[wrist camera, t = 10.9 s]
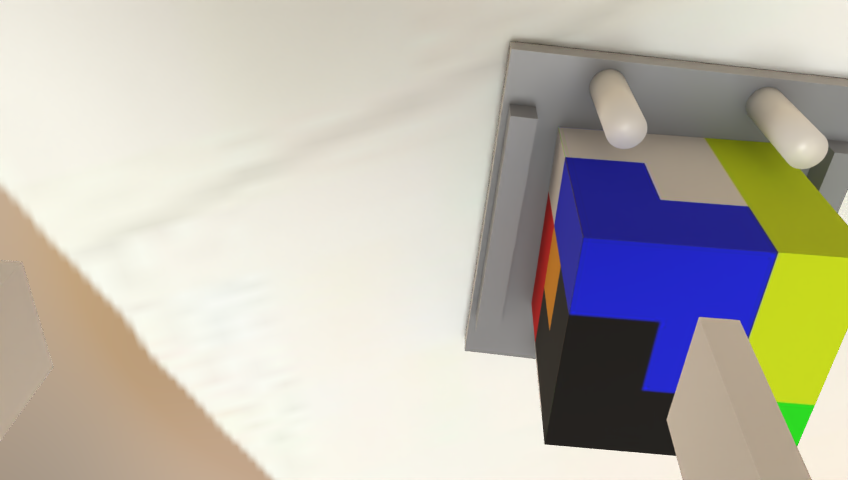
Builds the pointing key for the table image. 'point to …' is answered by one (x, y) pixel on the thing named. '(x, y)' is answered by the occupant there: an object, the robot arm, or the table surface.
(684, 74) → the tray
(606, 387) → the puzzle toy
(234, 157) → the table surface
